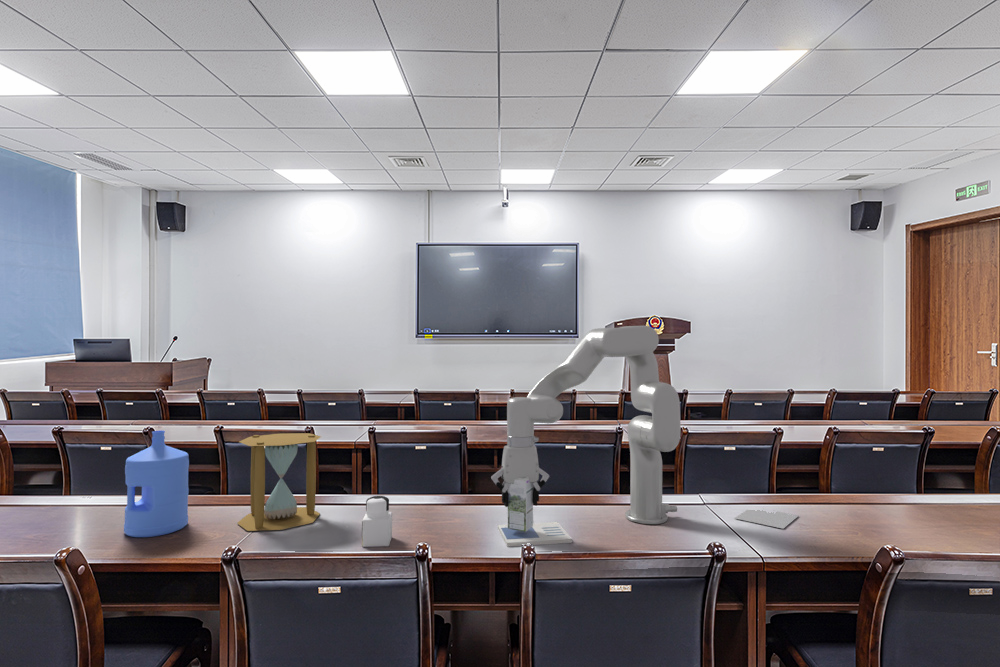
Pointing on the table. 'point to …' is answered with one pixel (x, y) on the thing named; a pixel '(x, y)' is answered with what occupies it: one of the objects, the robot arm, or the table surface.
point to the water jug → (157, 490)
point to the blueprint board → (535, 535)
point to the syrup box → (520, 505)
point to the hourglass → (281, 501)
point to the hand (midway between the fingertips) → (520, 504)
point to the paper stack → (767, 518)
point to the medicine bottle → (377, 523)
